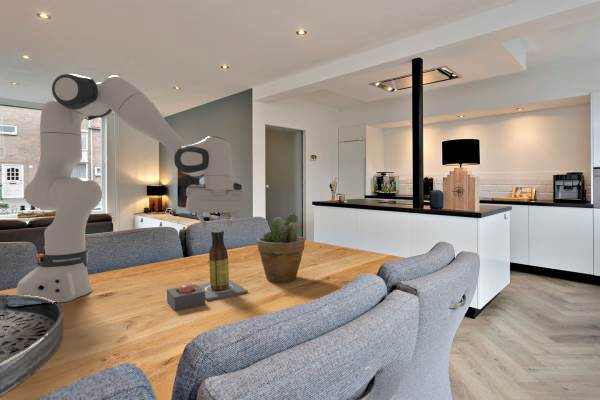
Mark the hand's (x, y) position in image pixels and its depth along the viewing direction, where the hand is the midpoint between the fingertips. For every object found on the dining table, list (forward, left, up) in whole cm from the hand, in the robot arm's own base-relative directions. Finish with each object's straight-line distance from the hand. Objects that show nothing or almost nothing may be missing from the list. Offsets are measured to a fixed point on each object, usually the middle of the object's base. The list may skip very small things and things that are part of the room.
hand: (217, 225), depth 115 cm
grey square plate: (+1, +1, -23) cm, 23 cm away
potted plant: (+26, +1, -23) cm, 34 cm away
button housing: (-12, -5, -23) cm, 26 cm away
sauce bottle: (0, 0, -22) cm, 22 cm away
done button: (-12, -5, -20) cm, 24 cm away
